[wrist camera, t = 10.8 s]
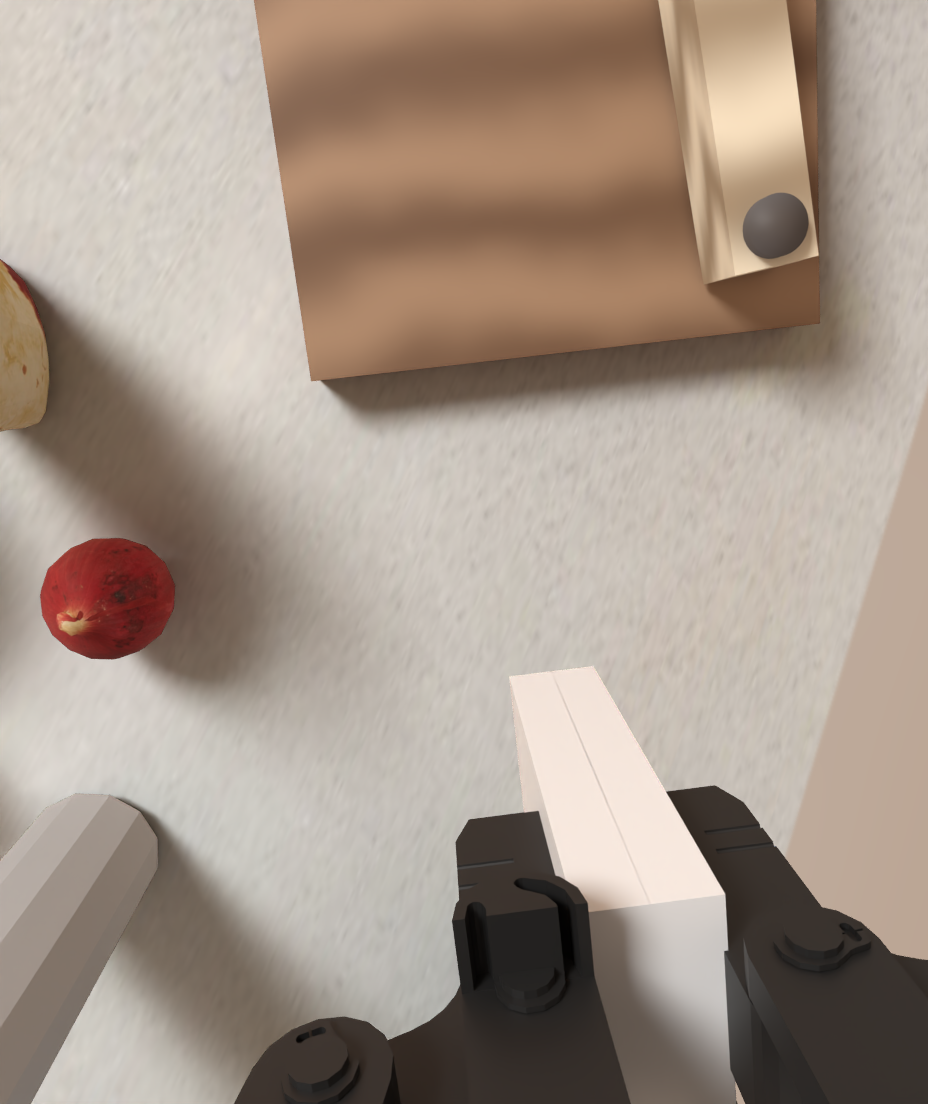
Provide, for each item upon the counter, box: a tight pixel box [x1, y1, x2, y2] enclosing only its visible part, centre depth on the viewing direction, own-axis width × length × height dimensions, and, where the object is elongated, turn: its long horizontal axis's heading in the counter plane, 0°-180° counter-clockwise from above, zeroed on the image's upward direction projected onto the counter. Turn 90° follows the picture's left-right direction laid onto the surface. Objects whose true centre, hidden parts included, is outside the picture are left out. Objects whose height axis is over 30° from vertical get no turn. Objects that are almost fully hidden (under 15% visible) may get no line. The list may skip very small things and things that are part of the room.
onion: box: [40, 538, 175, 659], centre depth 39 cm, size 6×6×8 cm
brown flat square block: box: [254, 0, 820, 381], centre depth 35 cm, size 24×24×6 cm
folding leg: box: [658, 0, 819, 285], centre depth 33 cm, size 19×4×5 cm, turn 13°
